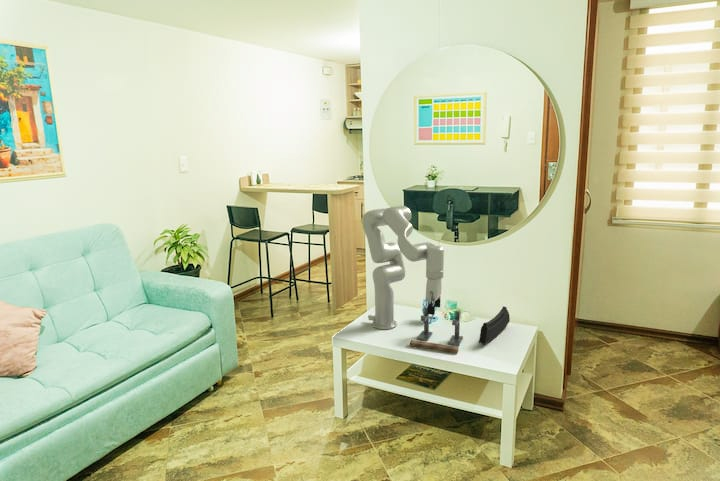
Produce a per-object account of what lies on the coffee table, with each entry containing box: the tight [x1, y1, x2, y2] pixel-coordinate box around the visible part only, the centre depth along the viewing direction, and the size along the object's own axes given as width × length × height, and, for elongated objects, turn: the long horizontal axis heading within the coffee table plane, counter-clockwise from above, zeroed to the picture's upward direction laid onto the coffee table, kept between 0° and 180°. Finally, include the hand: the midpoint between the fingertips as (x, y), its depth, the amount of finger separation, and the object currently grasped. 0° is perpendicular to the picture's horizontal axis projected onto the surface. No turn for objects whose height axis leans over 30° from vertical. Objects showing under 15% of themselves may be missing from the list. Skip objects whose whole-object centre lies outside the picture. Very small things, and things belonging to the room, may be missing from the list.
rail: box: [409, 339, 460, 355], centre depth 221 cm, size 22×3×2 cm, turn 68°
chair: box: [421, 298, 439, 325], centre depth 254 cm, size 8×8×12 cm
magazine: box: [478, 306, 511, 345], centre depth 234 cm, size 17×3×30 cm
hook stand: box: [416, 307, 464, 347], centre depth 231 cm, size 20×9×14 cm, turn 67°
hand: (433, 310), depth 218 cm, fingers open, 9 cm apart
